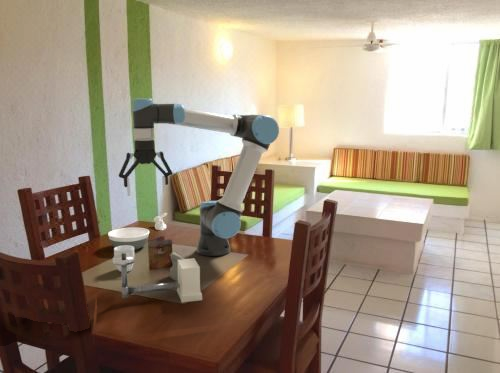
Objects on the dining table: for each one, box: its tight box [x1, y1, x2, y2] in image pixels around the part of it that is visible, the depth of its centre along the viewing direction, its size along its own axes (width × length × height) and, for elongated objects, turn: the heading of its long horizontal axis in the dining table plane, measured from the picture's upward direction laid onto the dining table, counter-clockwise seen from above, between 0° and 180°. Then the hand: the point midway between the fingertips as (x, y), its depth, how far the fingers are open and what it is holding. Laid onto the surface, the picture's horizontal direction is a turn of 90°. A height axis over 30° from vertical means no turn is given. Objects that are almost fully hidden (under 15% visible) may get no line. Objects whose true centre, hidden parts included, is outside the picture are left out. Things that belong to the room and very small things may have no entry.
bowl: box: [107, 226, 150, 251], centre depth 211 cm, size 19×19×8 cm
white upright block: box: [176, 257, 203, 304], centre depth 159 cm, size 7×12×11 cm, turn 18°
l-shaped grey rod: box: [112, 253, 180, 298], centre depth 154 cm, size 22×7×16 cm, turn 108°
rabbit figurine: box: [153, 212, 168, 231], centre depth 244 cm, size 12×8×10 cm, turn 25°
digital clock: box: [169, 252, 185, 282], centre depth 175 cm, size 14×8×9 cm, turn 22°
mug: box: [113, 245, 135, 273], centre depth 182 cm, size 11×8×9 cm
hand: (146, 194), depth 178 cm, fingers open, 13 cm apart
